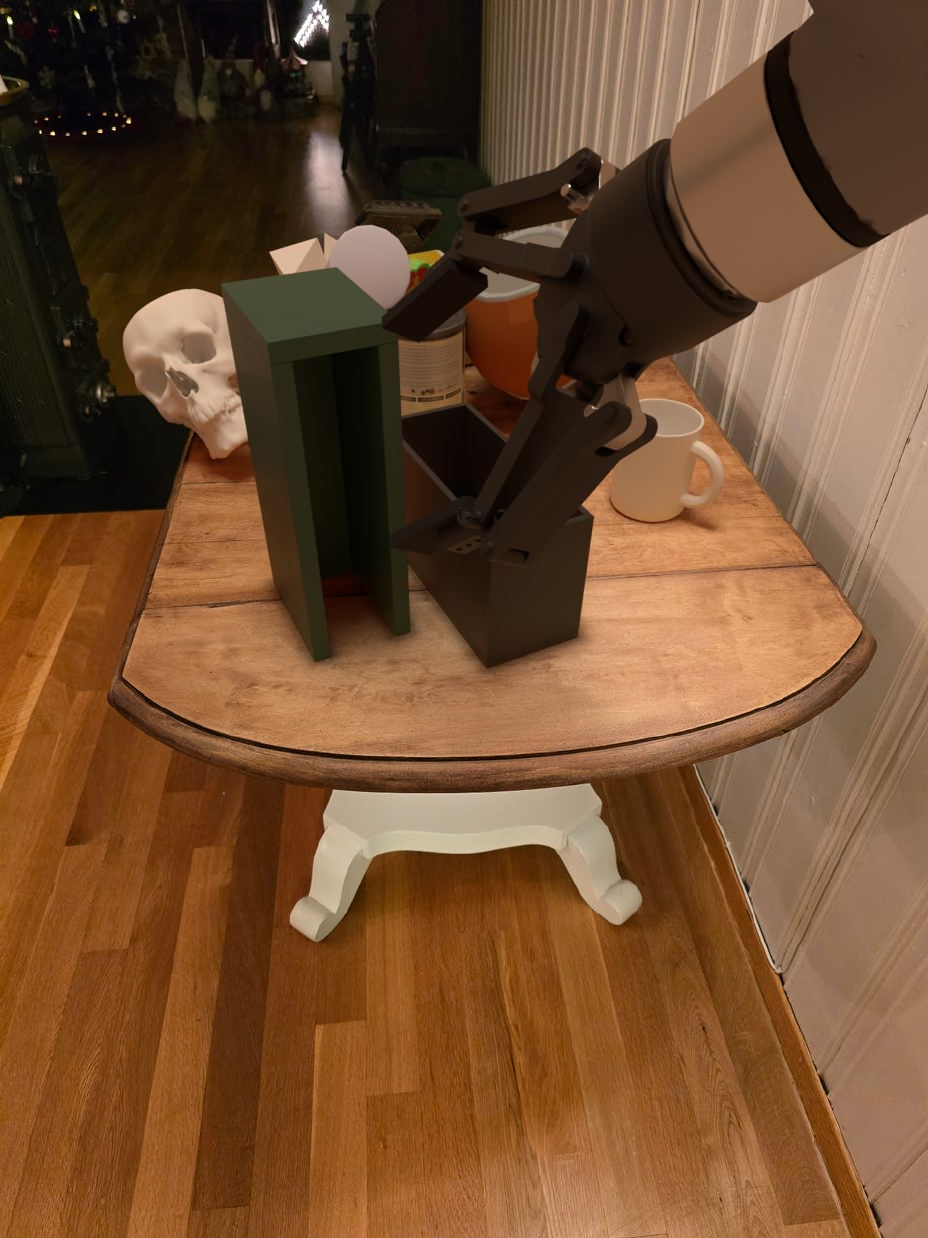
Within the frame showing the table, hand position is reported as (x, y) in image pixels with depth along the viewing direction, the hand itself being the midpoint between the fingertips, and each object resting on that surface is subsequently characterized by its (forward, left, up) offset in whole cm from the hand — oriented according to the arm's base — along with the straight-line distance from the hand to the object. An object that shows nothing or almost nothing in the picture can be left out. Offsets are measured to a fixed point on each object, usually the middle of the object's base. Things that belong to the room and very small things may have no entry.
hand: (404, 434), depth 48 cm
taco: (-11, +65, -26) cm, 71 cm away
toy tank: (-27, +97, -16) cm, 102 cm away
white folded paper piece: (-29, +76, -26) cm, 85 cm away
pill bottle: (-21, +92, -23) cm, 98 cm away
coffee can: (-8, +49, -26) cm, 56 cm away
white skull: (-26, +39, -25) cm, 53 cm away
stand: (-10, +14, -26) cm, 31 cm away
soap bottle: (-14, +48, -7) cm, 51 cm away
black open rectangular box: (+2, +20, -26) cm, 32 cm away
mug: (+20, +35, -26) cm, 48 cm away
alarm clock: (+9, +50, -15) cm, 53 cm away
